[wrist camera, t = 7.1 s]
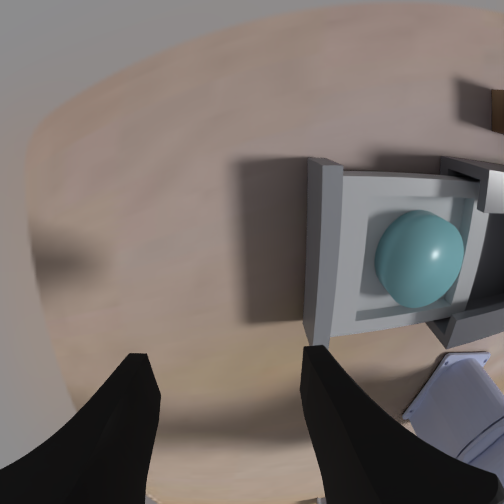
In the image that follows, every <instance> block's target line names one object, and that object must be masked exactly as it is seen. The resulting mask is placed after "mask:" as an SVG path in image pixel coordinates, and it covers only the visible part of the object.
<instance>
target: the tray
mask: <svg viewBox="0 0 504 504" xmlns="http://www.w3.org/2000/svg"><path fill="white" fill-rule="evenodd" d="M479 187H480V179H477V178H469V177H458V176H446V175H433V174H418V173H400V172H373V171H343V165H341V164H338V163H336V162H334V161H331V160H329V159H327V158H308V187H307V243H306V271H305V293H304V311H303V326H304V329H305V332H306V336H307V339H308V342H309V345H310V346H315V345H324V346H325V347H326V348H327V350H328V348H329V341H330V337H334V336H342V335H350V334H357V333H364V332H371V331H377V330H384V329H390V328H396V327H402V326H407V325H413V324H418V323H423V322H428V321H433V320H438V319H443V318H448V317H451V314H456V313H460V312H464V311H465V308H466V305H467V302H468V299H469V296H470V293H471V289H472V286H473V282H474V279H475V275H476V271H477V268H478V264H479V260H480V255H481V251H482V247H483V242H484V237H485V233H486V227H487V222H488V216H489V213H483V212H481V211H479V210H477V202H478V195H479ZM414 210H427V211H430V212H432V213H434V214H436V215H437V216H439V217H441V218H443V219H444V220H446V221H448V222H449V223H451V224H452V225H454V226H455V227H456V228H457V230H458V231H459V233H460V235H461V237H462V241H463V246H464V255H463V262H462V266H461V269H460V271H459V274H458V276H457V278H456V280H455V281H454V283H453V284H452V286H451V287H450V288H449V290H448V291H447V292H446V293H445V294H444V295H443V296H441V297H440V298H439V299H437V300H436V301H434V302H433V303H431V304H429V305H426V306H423V307H419V308H408V307H404V306H402V305H400V304H398V303H397V302H396V301H395V300H394V299H393V298H392V297H391V295H390V294H389V293H388V292H387V290H386V289H385V288H384V286H383V285H382V284H381V283H380V281H379V279H378V277H377V275H376V272H375V253H376V249H377V246H378V243H379V241H380V239H381V237H382V235H383V233H384V232H385V230H386V229H387V228H388V227H389V225H390V224H391V223H392V222H393V221H395V220H396V219H397V218H398V217H400V216H401V215H403V214H405V213H407V212H410V211H414Z"/></svg>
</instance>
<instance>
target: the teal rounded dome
mask: <svg viewBox="0 0 504 504" xmlns="http://www.w3.org/2000/svg"><path fill="white" fill-rule="evenodd" d="M463 255H464V246H463V241H462V237H461V235H460V233H459V231H458V230H457V228H456V227H455V226H454V225H452V224H451V223H449V222H448V221H446V220H444V219H443V218H441V217H439V216H437V215H436V214H434V213H432V212H430V211H427V210H414V211H410V212H407V213H405V214H403V215H401V216H400V217H398V218H397V219H396V220H395V221H393V222H392V223H391V224H390V225H389V227H388V228H387V229H386V230H385V232H384V233H383V235H382V237H381V239H380V241H379V243H378V246H377V249H376V253H375V272H376V275H377V277H378V279H379V281H380V283H381V284H382V285H383V286H384V288H385V289H386V290H387V292H388V293H389V294H390V295H391V297H392V298H393V299H394V300H395V301H396V302H397V303H398V304H400V305H402V306H404V307H408V308H419V307H423V306H426V305H429V304H431V303H433V302H434V301H436V300H437V299H439V298H440V297H441V296H443V295H444V294H445V293H446V292H447V291H448V290H449V288H450V287H451V286H452V284H453V283H454V281H455V280H456V278H457V276H458V274H459V271H460V269H461V266H462V262H463Z"/></svg>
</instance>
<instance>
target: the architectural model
mask: <svg viewBox="0 0 504 504" xmlns="http://www.w3.org/2000/svg"><path fill="white" fill-rule="evenodd" d="M317 504H327V503H326V497H325V498H317Z"/></svg>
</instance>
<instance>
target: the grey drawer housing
mask: <svg viewBox="0 0 504 504" xmlns="http://www.w3.org/2000/svg"><path fill="white" fill-rule="evenodd" d="M440 175H446V176H458V177H469V178H477V179H480V187H479V195H478V202H477V210H479V211H481V212H483V213H489V216H488V222H487V227H486V233H485V237H484V242H483V247H482V251H481V255H480V260H479V264H478V268H477V271H476V275H475V279H474V282H473V286H472V289H471V293H470V296H469V299H468V302H467V305H466V308H465V311H464V312H460V313H456V314H451V317H448V318H443V319H438V320H433V321H428V322H425V323H426V324H427V325H428V327H429V328H430V329H431V331H432V332H433V333H434V334H435V336H436V337H437V338H438V339H439V341H440V342H441V343H442V345H443V346H444V347H445V349H449V348H453V347H456V346H460V345H463V344H466V343H470V342H473V341H476V340H479V339H482V338H486V337H489V336H492V335H495V334H497V333H500V332H503V331H504V165H500V164H494V163H488V162H482V161H476V160H469V159H462V158H455V157H447V156H441V164H440Z"/></svg>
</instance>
